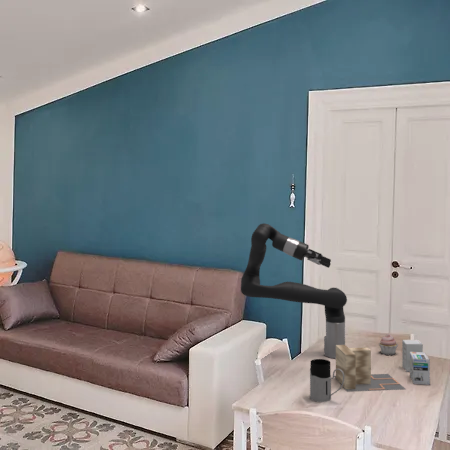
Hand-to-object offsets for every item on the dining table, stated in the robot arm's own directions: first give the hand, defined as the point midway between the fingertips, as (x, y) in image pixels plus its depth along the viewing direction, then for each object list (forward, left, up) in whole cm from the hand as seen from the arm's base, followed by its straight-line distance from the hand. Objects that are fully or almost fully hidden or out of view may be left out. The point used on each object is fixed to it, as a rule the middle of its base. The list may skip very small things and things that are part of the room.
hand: (330, 264), depth 229 cm
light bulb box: (+34, +15, -49) cm, 61 cm away
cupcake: (+10, +46, -49) cm, 68 cm away
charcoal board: (+18, -2, -49) cm, 52 cm away
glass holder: (+12, -29, -49) cm, 58 cm away
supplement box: (+27, +28, -49) cm, 63 cm away
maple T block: (+13, -6, -48) cm, 50 cm away
